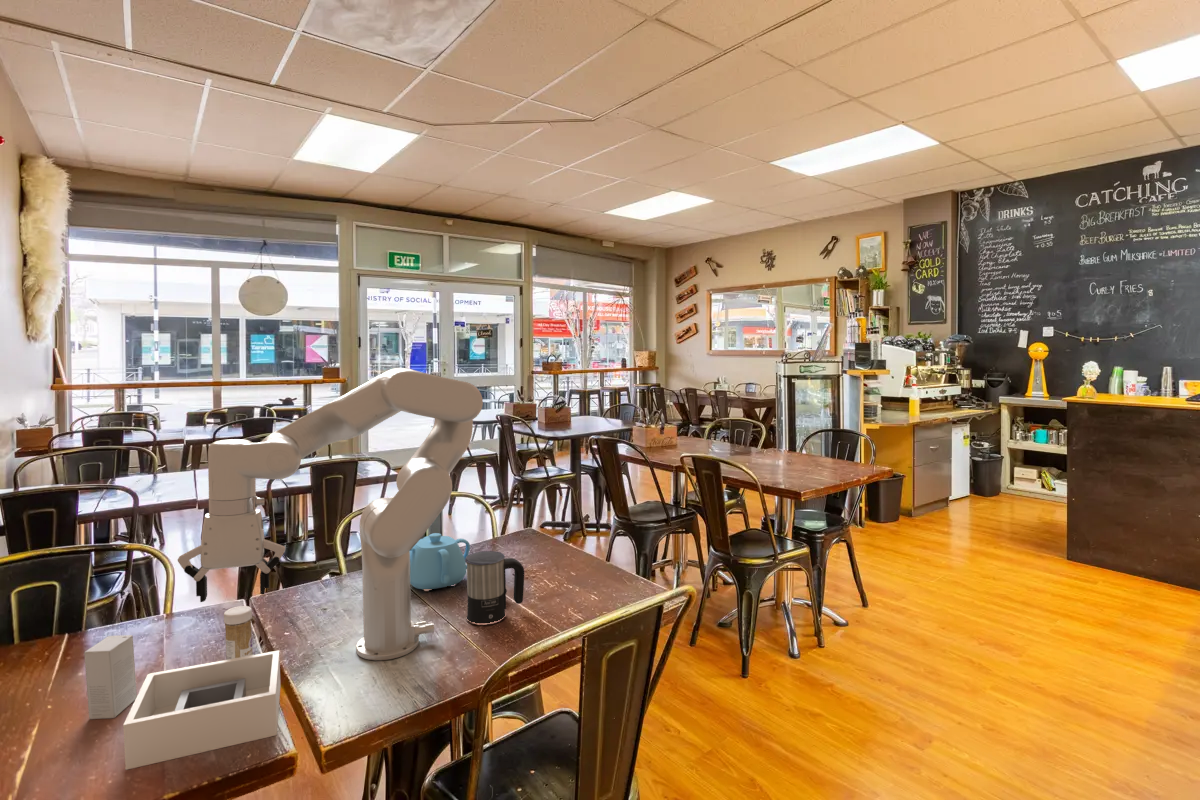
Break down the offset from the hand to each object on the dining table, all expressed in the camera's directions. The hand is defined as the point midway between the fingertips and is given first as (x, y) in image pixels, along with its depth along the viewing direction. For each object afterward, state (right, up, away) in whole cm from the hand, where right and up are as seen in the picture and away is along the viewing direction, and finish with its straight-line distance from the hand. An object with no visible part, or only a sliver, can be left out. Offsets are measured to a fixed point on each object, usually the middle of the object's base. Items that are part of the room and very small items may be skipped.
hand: (233, 595), depth 116 cm
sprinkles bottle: (0, -17, +2) cm, 17 cm away
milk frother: (+42, -14, +33) cm, 55 cm away
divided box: (+4, -17, -13) cm, 22 cm away
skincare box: (-16, -17, -9) cm, 25 cm away
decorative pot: (+25, -13, +50) cm, 57 cm away
